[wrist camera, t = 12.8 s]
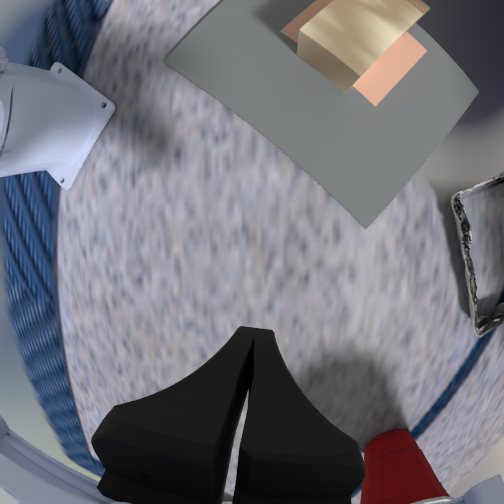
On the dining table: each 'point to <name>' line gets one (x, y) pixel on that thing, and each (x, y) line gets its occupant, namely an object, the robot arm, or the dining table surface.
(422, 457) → the plastic cup
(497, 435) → the dining table surface
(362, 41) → the maple block
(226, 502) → the coffee can
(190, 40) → the rubber mat
